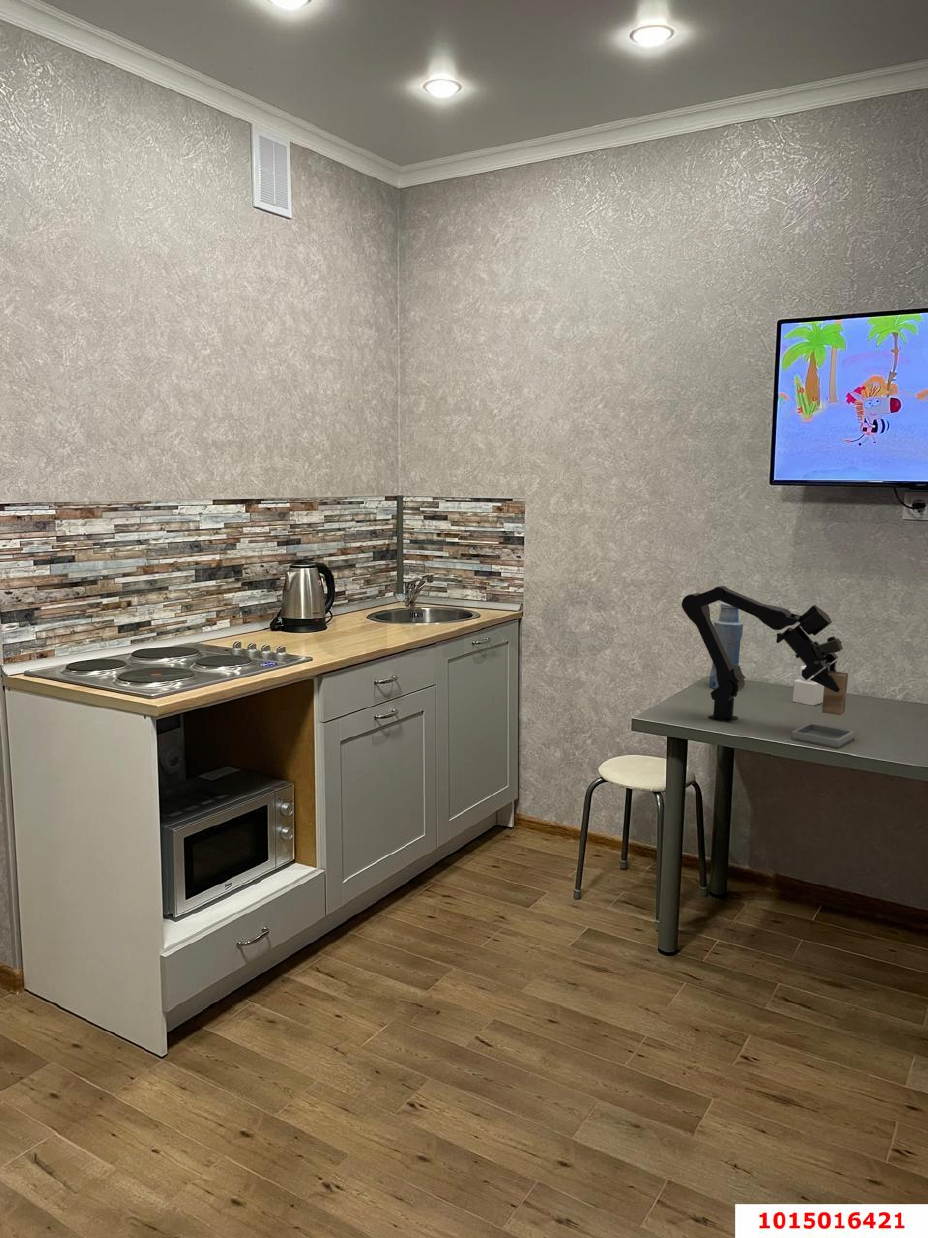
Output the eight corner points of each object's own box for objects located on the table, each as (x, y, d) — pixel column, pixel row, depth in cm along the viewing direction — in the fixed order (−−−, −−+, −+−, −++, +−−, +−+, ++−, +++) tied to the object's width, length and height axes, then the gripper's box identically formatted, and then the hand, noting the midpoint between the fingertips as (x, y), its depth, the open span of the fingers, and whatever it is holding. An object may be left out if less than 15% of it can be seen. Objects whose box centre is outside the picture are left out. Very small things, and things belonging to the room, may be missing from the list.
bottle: (707, 683, 323) (712, 598, 318) (735, 685, 322) (741, 599, 318) (711, 690, 314) (717, 602, 309) (741, 691, 313) (747, 603, 308)
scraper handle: (840, 715, 255) (844, 676, 253) (821, 712, 257) (825, 673, 256) (844, 711, 259) (848, 673, 257) (826, 708, 261) (829, 670, 260)
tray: (837, 748, 247) (838, 740, 246) (791, 739, 255) (791, 731, 254) (854, 739, 256) (854, 731, 256) (808, 730, 264) (809, 723, 264)
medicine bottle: (802, 698, 304) (805, 662, 302) (823, 702, 299) (826, 666, 297) (792, 701, 299) (794, 665, 297) (813, 706, 294) (816, 669, 292)
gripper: (817, 632, 249) (857, 678, 244) (833, 623, 264) (871, 667, 260) (785, 657, 254) (823, 702, 250) (802, 647, 270) (839, 690, 265)
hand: (840, 689), depth 256 cm, fingers closed on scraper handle, 5 cm apart
